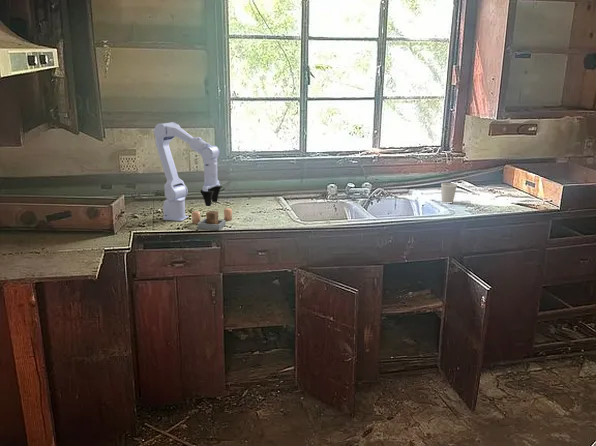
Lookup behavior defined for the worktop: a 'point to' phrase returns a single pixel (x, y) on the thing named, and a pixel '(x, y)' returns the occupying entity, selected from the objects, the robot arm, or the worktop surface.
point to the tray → (211, 225)
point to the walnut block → (212, 217)
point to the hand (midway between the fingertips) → (211, 203)
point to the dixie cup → (448, 191)
